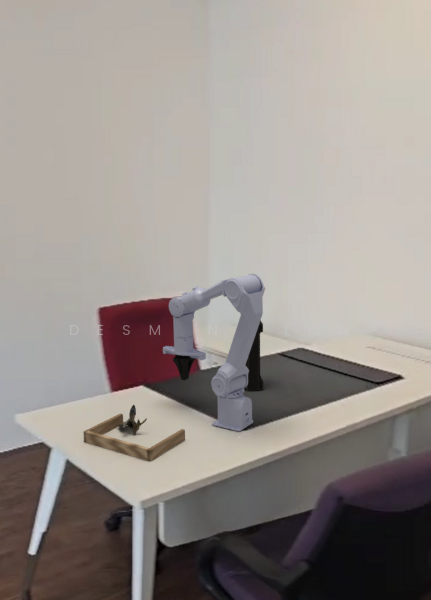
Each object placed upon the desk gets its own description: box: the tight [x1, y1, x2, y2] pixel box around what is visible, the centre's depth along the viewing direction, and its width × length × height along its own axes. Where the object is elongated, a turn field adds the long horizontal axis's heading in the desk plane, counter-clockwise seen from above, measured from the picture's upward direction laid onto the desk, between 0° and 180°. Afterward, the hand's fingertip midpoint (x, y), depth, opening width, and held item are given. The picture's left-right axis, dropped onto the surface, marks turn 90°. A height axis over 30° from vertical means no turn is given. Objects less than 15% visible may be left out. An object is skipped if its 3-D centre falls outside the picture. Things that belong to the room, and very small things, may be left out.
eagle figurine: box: [117, 404, 148, 436], centre depth 185 cm, size 8×7×9 cm
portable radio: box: [244, 320, 264, 392], centre depth 217 cm, size 8×6×25 cm
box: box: [83, 413, 186, 462], centre depth 178 cm, size 23×15×3 cm, turn 57°
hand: (184, 379), depth 199 cm, fingers closed
